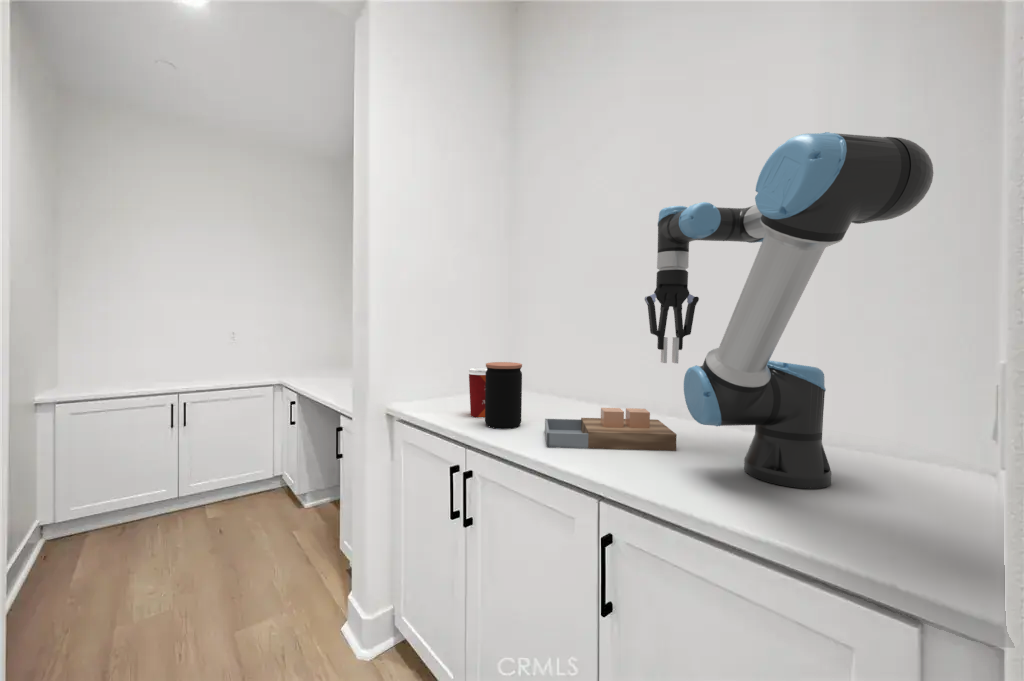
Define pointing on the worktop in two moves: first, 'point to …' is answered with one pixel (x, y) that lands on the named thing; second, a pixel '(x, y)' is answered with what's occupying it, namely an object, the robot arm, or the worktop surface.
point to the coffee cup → (477, 391)
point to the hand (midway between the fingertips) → (669, 362)
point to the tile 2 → (637, 418)
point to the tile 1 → (612, 417)
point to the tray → (565, 433)
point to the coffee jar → (503, 394)
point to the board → (628, 436)
